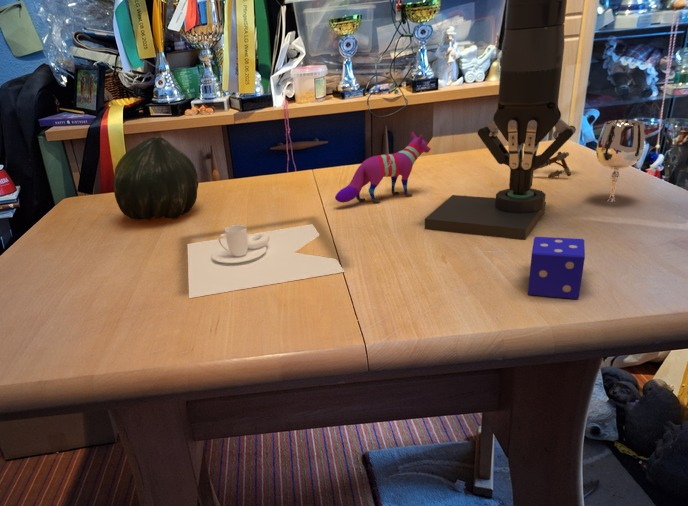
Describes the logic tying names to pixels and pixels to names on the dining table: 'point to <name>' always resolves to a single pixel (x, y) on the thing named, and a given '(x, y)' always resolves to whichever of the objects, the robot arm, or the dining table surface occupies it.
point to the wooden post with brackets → (558, 158)
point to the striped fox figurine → (384, 171)
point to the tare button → (527, 195)
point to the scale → (489, 215)
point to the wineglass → (620, 147)
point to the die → (556, 267)
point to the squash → (155, 181)
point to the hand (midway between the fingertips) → (519, 193)
